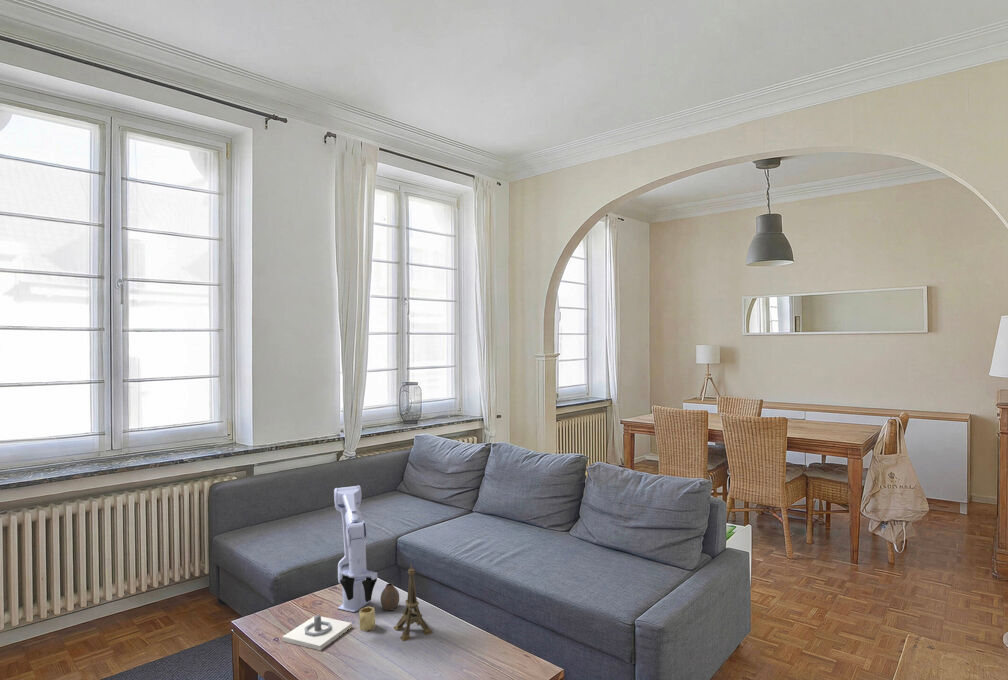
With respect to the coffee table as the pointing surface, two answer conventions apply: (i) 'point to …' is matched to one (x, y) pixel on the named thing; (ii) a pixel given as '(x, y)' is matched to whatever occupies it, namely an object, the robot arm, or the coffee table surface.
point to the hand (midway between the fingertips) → (359, 600)
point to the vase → (389, 597)
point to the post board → (317, 632)
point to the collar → (367, 618)
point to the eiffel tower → (411, 615)
